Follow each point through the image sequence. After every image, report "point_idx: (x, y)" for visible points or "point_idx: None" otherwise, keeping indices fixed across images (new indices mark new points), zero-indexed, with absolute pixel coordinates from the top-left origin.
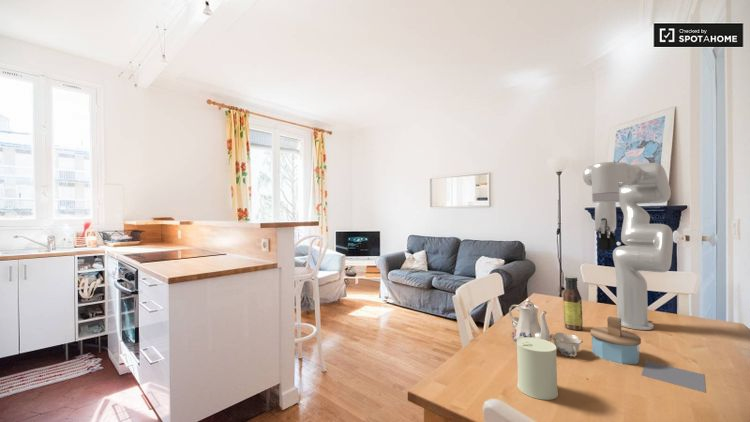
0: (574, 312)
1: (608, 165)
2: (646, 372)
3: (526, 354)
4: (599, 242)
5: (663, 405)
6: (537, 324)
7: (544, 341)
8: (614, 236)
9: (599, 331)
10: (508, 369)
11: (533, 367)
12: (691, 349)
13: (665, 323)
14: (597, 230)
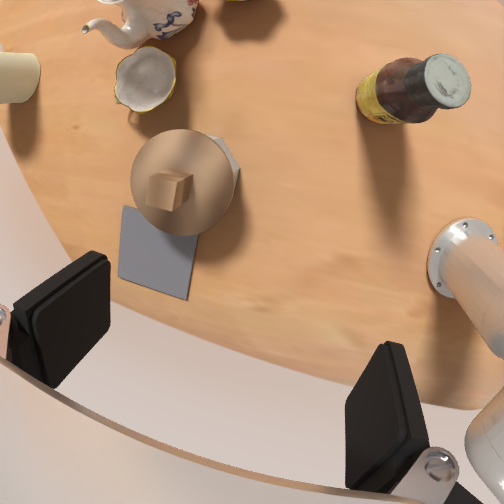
0: (366, 96)
1: None
2: (138, 216)
3: None
4: (49, 282)
5: (61, 216)
6: (132, 13)
7: None
8: (346, 484)
9: (181, 150)
10: (55, 25)
11: None
12: (329, 324)
13: None
14: (63, 410)
